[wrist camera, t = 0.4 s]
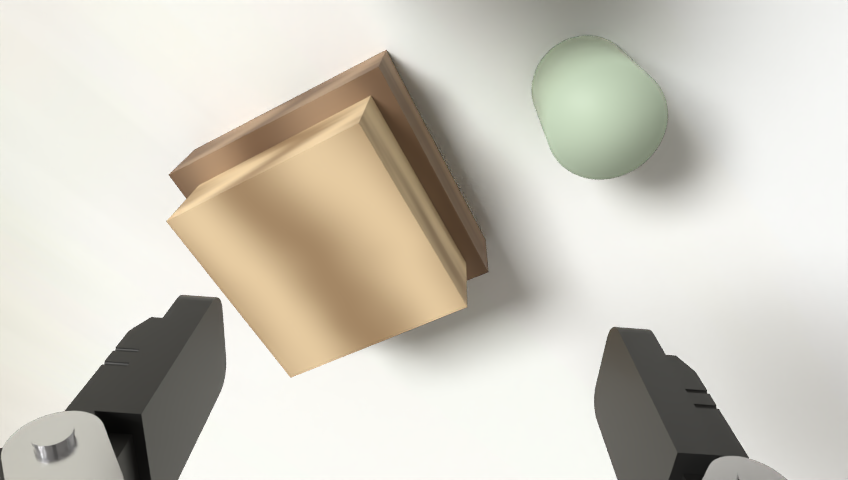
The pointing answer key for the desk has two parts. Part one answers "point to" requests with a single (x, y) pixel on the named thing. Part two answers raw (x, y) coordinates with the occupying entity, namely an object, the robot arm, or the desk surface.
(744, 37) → the desk surface
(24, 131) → the desk surface
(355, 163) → the oak top block
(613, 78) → the green capsule
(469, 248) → the walnut base block
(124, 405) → the robot arm
